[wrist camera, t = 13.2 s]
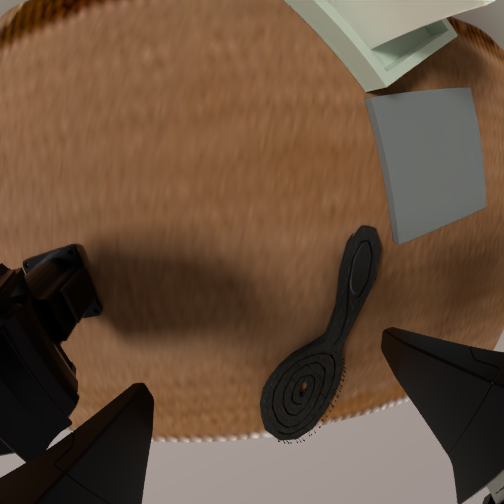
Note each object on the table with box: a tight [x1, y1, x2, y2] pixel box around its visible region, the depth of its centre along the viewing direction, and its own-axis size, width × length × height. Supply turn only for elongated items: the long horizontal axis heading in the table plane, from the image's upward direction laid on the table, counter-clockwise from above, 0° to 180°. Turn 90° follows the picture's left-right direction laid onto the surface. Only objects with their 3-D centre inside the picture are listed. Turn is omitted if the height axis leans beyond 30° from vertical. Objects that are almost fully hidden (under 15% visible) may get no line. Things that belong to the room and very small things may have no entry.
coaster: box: [365, 87, 486, 245], centre depth 20 cm, size 12×12×1 cm
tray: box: [284, 0, 458, 92], centre depth 14 cm, size 11×11×3 cm
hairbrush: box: [260, 226, 381, 444], centre depth 25 cm, size 8×4×25 cm
